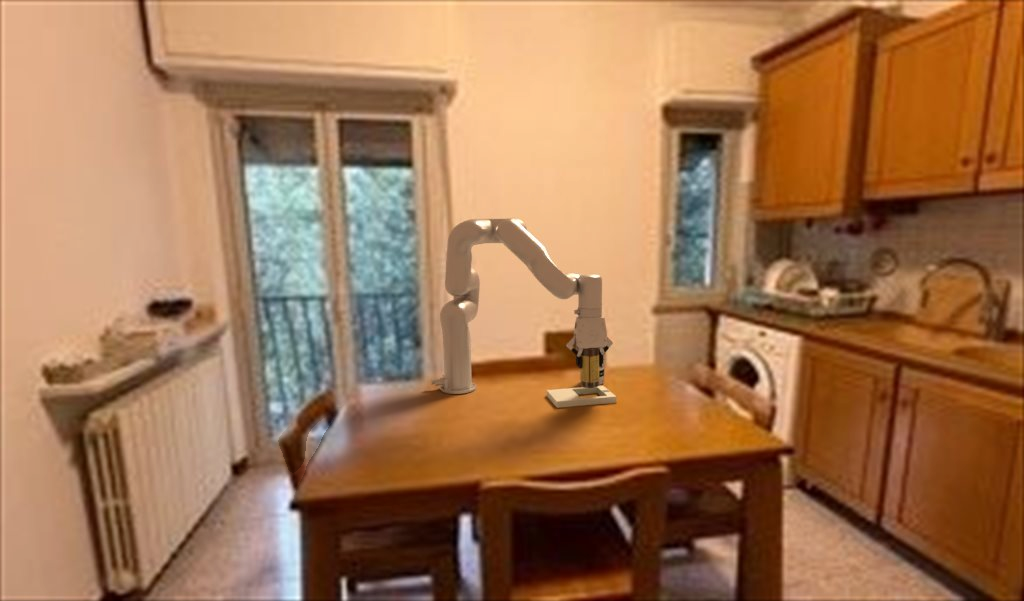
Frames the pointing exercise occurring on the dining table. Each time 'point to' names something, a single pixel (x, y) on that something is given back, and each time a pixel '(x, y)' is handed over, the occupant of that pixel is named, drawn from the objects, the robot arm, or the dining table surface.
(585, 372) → the sauce bottle
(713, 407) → the dining table surface
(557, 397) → the board
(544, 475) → the dining table surface
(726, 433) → the dining table surface
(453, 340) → the robot arm
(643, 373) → the dining table surface
